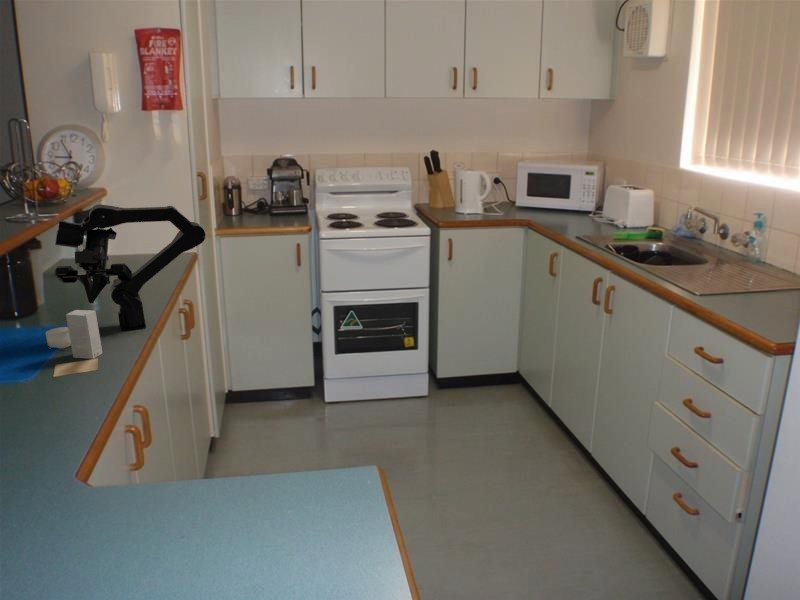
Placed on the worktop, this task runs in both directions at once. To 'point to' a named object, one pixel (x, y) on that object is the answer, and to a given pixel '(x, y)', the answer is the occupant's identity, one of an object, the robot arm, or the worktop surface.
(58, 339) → the beige rounded piece
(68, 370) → the smooth tan tapered shape
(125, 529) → the worktop surface
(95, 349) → the skincare box
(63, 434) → the worktop surface
